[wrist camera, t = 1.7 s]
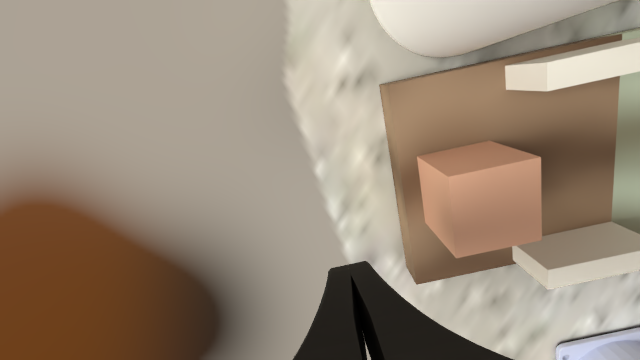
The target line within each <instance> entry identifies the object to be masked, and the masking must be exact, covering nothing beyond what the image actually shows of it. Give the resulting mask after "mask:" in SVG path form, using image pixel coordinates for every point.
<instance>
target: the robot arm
mask: <svg viewBox="0 0 640 360" xmlns="http://www.w3.org/2000/svg"><path fill="white" fill-rule="evenodd" d="M362 330H363V331H362ZM364 339H365V340H364ZM365 342H366V345H367V348H368V351H369V354H370V357H371V360H513V359H510V358H508V357H505V356H503V355H500V354H498V353H496V352H493V351H491V350H489V349H486V348H484V347H482V346H479V345H477V344H475V343H473V342H471V341H469V340H467V339H465V338H463V337H461V336H459V335H458V334H456V333H454V332H452V331H450V330H448V329H446V328H445V327H443V326H441V325H440V324H438V323H437V322H435V321H434V320H432V319H431V318H429V317H428V316H426V315H425V314H423V313H422V312H420V311H419V310H418V309H416V308H415V307H414V306H413V305H411V304H410V303H409V302H407V301H406V300H405V299H404V298H403V297H401V296H400V295H399V294H398V293H397V292H396V291H395V290H394V289H393V288H391V287H390V286H389V285H388V284H387V283H386V282H385V281H384V280H383V279H382V278H381V277H380V276H379V275H378V274H377V272H376V271H375V270H374V269H373V268H372V266H371V265H370V264H369V263H368V262H366V261H363V262H359V263H354V264H349V265H344V266H340V267H335V268H331V269H330V270H329V272H328V279H327V283H326V287H325V291H324V294H323V297H322V300H321V303H320V306H319V309H318V311H317V314H316V316H315V318H314V321H313V323H312V325H311V327H310V330H309V332H308V334H307V336H306V338H305V339H304V342H303V343H302V345H301V347H300V349H299V350H298V352H297V354H296V356H295V357H294V359H293V360H367V355H366V348H365ZM556 360H640V327H638V328H634V329H629V330H624V331H619V332H614V333H610V334H605V335H600V336H595V337H590V338H586V339H581V340H576V341H571V342H566V343H562V344H559V345H558V346H557V347H556Z"/></svg>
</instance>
